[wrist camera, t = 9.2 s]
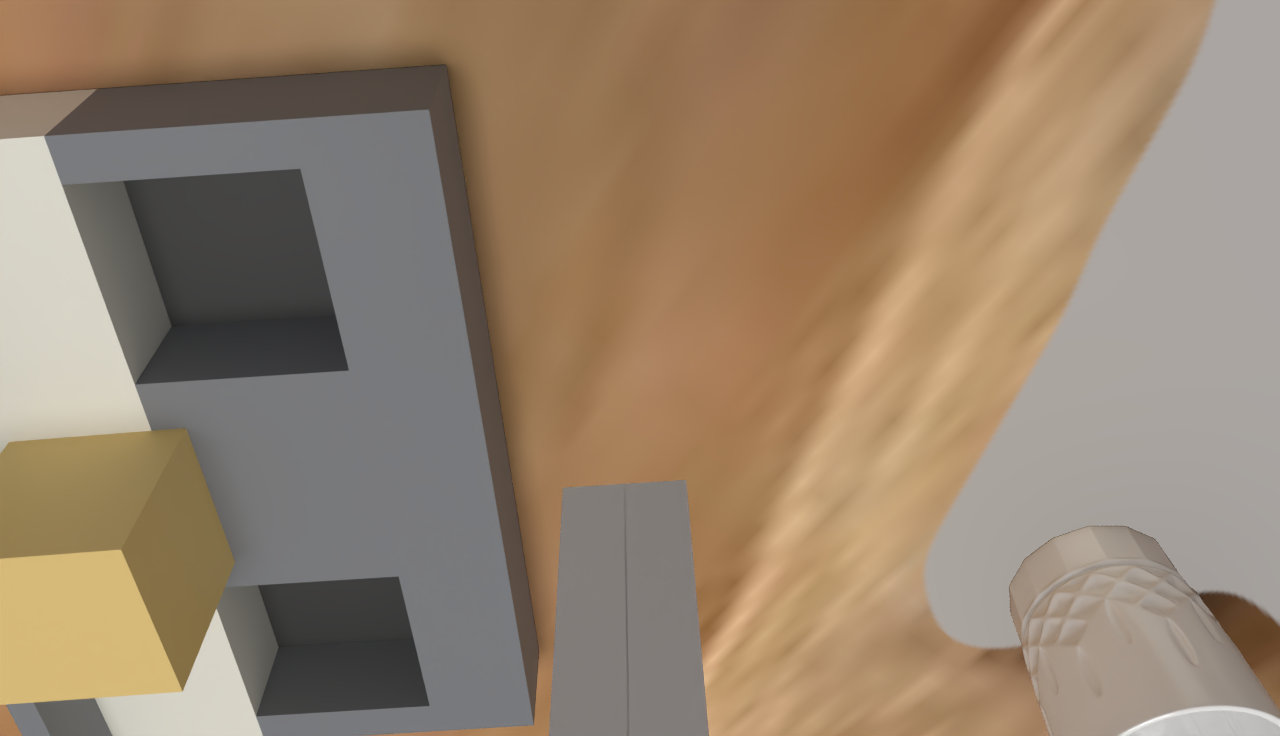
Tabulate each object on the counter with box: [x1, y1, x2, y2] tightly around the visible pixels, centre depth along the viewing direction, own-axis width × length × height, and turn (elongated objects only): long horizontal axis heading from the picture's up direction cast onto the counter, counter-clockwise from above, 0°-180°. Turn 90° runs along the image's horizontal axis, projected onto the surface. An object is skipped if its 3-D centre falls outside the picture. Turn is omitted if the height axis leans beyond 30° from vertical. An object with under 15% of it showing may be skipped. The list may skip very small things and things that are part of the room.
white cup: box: [1009, 526, 1280, 736], centre depth 44 cm, size 8×8×10 cm
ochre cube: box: [0, 428, 235, 705], centre depth 37 cm, size 6×6×6 cm
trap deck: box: [0, 65, 539, 736], centre depth 40 cm, size 18×26×7 cm
